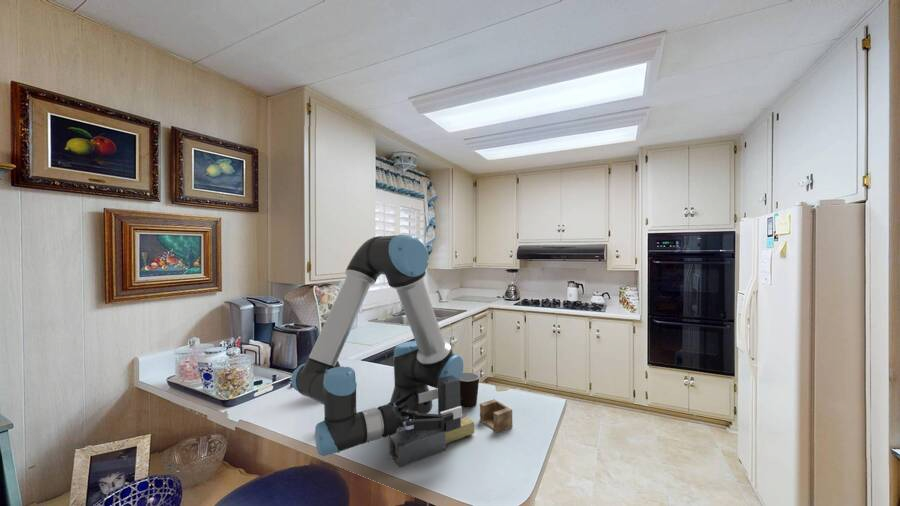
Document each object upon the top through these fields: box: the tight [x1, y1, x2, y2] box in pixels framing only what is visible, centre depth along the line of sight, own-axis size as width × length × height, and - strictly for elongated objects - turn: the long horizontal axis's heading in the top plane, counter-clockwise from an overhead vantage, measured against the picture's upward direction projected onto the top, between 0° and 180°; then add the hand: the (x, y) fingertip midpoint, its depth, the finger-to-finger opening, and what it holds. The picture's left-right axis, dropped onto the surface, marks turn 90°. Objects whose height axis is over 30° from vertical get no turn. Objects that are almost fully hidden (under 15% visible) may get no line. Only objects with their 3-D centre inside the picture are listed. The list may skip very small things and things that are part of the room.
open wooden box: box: [479, 398, 514, 434], centre depth 109 cm, size 6×9×6 cm, turn 31°
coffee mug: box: [460, 371, 480, 409], centre depth 124 cm, size 12×9×10 cm
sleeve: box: [388, 428, 447, 468], centre depth 94 cm, size 14×7×6 cm, turn 121°
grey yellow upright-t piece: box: [395, 375, 475, 456], centre depth 97 cm, size 24×4×17 cm, turn 121°
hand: (448, 401), depth 99 cm, fingers open, 13 cm apart
